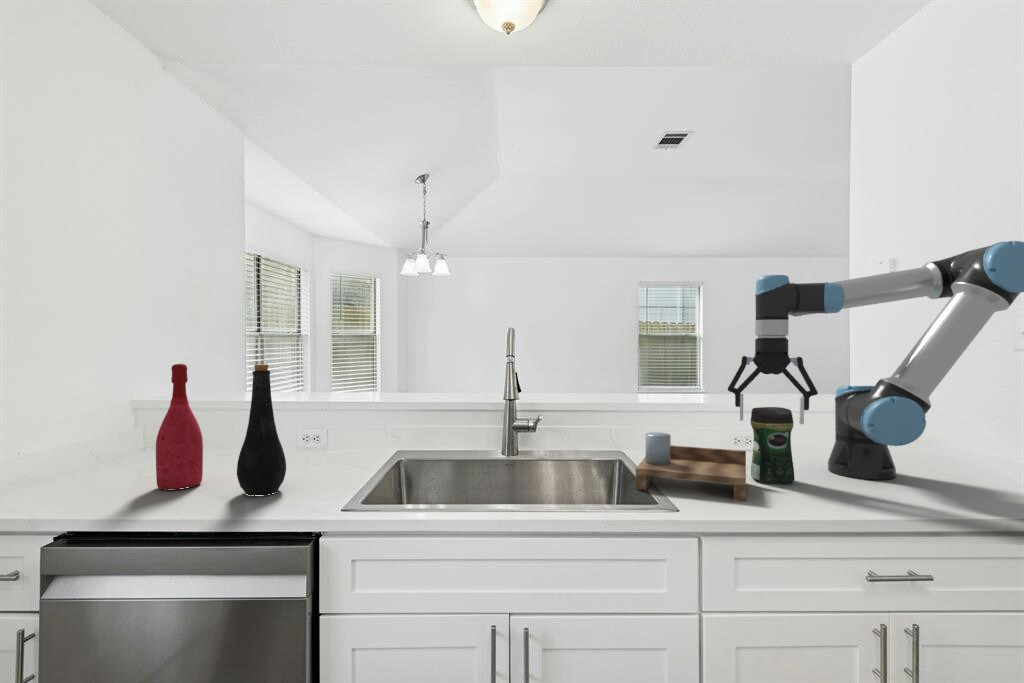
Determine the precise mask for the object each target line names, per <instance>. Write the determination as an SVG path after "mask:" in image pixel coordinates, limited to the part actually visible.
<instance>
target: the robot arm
mask: <svg viewBox="0 0 1024 683" xmlns="http://www.w3.org/2000/svg"><path fill="white" fill-rule="evenodd" d="M1021 293H1024V241H1021V240H1010V241H1009V240H1008V241H999V242H996V243H993V244H991V245H988V246H984V247H979V248H975V249H971V250H967V251H965V252H962V253H959V254H956V255H953V256H950V257H947V258H943V259H940V260H934V261H928V262H925V263H924V264H922V267H915V268H910V269H903V270H898V271H892V272H887V273H879V274H874V275H869V276H862V277H856V278H850V279H843V280H838V281H832V282H828V281H826V282H810V283H809V282H807V283H805V282H804V283H801V282H800V283H794V282H790V279H789V276H788V275H786V274H769V275H762V276H761V275H760V276H759V277H758V278H757V279H756V284H755V294H754V296H755V319H754V321H755V323H754V324H755V325H754V326H755V329H754V335H755V336H756V337H757V338H755V341H754V344H755V345H754V347H755V349H754V351H755V352H754V356H753V357H751V356H746V355H743V356H742V357H741V362H740V363H741V364H740V365H739V367H738V369H737V371H736V372H735V375H734V377H733V378H732V380H731V382H730V384H729V385H728V387H727V391H728V392H730V393H731V394H734V405H735V408H739V421H740V422H741V421H744V393H742V392H743V391H744V390H745V389H746V388H747V387H748V386H749V385H750V384H751V383H752V382H753V381H754V380H755V379H756V378H757V377H758V376H759V374H763V375H771V374H772V375H776V376H777V375H780V374H783V375H784V376H785V377H786V378H787V380H789V381H790V383H792V385H793V386H794V387H795V388H796V389H797V390H798V392H799V393H801V395H802V396H799V412H798V413H799V417H798V418H799V420H798V421H799V424H800V425H805V411H810V410H809V409H810V398H811V397H813V396H817V395H818V393H819V392H818V389H817V387H816V386H815V385H814V383H813V380H812V379H811V377H810V376H809V373H808V371H807V370H806V368H805V366H804V361H803V357H801V356H797V357H790V355H789V339H788V338H787V337H788V336H789V330H790V328H789V323H790V322H789V321H790V320H789V316H793V317H802V316H807V315H813V314H814V315H815V314H827V315H828V314H837V313H840V312H841V311H842V310H844V309H851V308H858V307H864V306H870V305H878V304H884V303H892V302H897V301H905V300H911V299H917V298H918V299H919V298H924V297H927V298H929V299H931V300H938V299H943V298H944V299H945V298H950V299H949V300H948V301H947V302H946V304H945V305H944V306H943V308H942V309H941V310H940V312H939V313H938V314H937V316H936V317H935V318H934V319H933V321H932V322H931V324H930V325H929V326H928V328H926V330H925V331H924V332H923V334H922V335H921V337H920V338H919V339H918V341H917V342H916V343H915V345H914V346H913V347H912V348H911V350H910V351H909V353H908V354H907V355H906V357H905V358H904V359H903V360H902V361H901V363H900V364H899V366H898V367H897V368H896V370H895V371H893V374H891V376H888V377H884V378H880V379H879V380H878V381H877V382H876V384H875V385H844V386H839V387H837V388H836V390H835V397H834V410H835V412H834V413H835V416H834V418H835V419H834V421H835V423H834V424H835V425H834V426H835V427H834V428H835V437H834V438H835V441H834V444H833V447H832V450H831V453H830V456H829V457H828V460H827V470H828V472H831V473H834V474H837V475H840V476H845V477H850V478H855V479H865V480H875V481H876V480H881V481H882V480H884V481H885V480H891V479H895V478H896V477H897V476H896V475H897V470H896V469H897V468H896V465H895V463H894V460H893V457H892V455H891V451H890V449H889V446H891V447H901V446H906V445H909V444H911V443H913V442H916V440H918V439H919V438H920V437H921V436H922V435H923V433H924V431H925V429H926V426H927V420H926V414H927V413H928V412H929V410H930V409H931V407H932V403H931V400H930V396H931V395H932V393H933V392H934V391H935V390H936V388H938V386H939V385H940V383H941V382H942V381H943V379H945V377H946V375H947V374H948V373H949V372H950V370H951V369H952V368H953V367H954V366H955V364H956V362H957V361H958V360H959V359H960V358H961V356H962V355H963V354H964V352H965V351H966V350H967V349H968V348H969V346H970V345H971V344H972V342H973V341H974V339H975V338H976V337H977V336H978V334H980V332H981V331H982V329H983V328H984V327H985V325H986V324H987V323H988V322H989V320H990V319H991V318H992V317H993V315H994V314H995V313H996V312H1001V311H1006V310H1008V309H1009V308H1010V306H1011V305H1012V304H1013V303H1014V302H1015V301H1016V299H1017V298H1018V296H1019V295H1020V294H1021ZM752 362H753V364H754V365H755V367H756V368H755V369H754V370H753V372H751V373H750V374H749V375H748V376H747V378H746V379H745V380H744V381H743V382H742V383H741V384H739V386H738V387H737V388H736V386H737V383H738V381H739V379H740V377H742V376H741V375H742V374H743V372H744V371H745V369H746V367H747V366H749V365H750V364H751V363H752ZM790 364H793V365H794V367H797V369H798V371H799V373H800V375H801V376H802V378H803V380H804V382H805V384H806V386H807V388H808V391H807V389H805V388H804V386H803V385H802V384H801V383H800V382H799V381H798V380H797V379H796V378H795V377H794V376H793V375H792V374H791V372H790V371H789V370H788V369H787V367H788V366H789V365H790Z"/></svg>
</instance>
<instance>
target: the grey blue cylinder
mask: <svg viewBox="0 0 1024 683" xmlns="http://www.w3.org/2000/svg"><path fill="white" fill-rule="evenodd" d="M671 440H672V439H671V434H670V433H667V432H656V431H655V432H646V433H645V457H646V463H647V464H651V465H669V464H671V442H672V441H671Z"/></svg>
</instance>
